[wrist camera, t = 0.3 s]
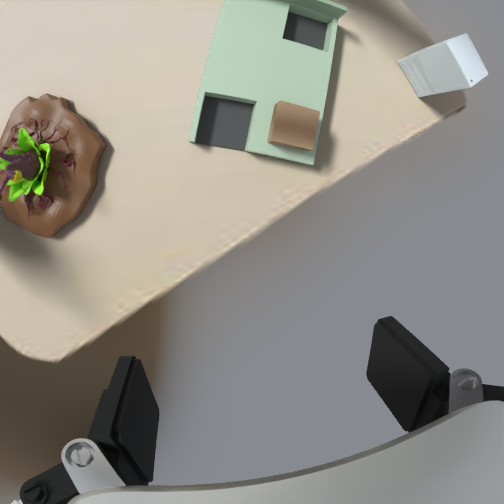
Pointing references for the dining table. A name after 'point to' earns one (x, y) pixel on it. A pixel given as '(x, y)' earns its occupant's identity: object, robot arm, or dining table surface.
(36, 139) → the plant
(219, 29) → the board
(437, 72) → the supplement box
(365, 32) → the dining table surface
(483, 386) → the robot arm
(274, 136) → the walnut block
